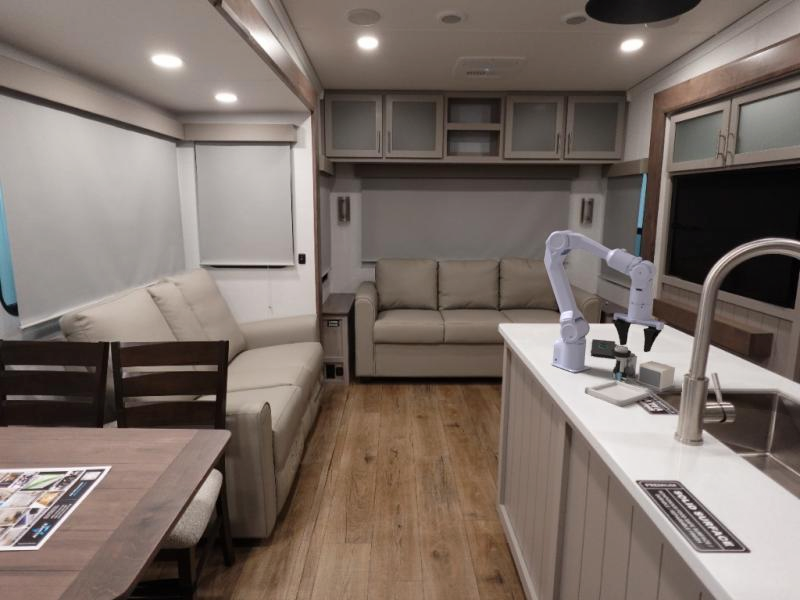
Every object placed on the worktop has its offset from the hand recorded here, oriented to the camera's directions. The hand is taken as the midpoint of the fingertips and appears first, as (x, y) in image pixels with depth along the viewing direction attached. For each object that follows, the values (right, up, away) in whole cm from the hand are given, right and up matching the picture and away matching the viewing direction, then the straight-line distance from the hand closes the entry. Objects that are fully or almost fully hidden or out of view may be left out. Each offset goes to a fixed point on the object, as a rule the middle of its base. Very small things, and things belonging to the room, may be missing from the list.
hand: (634, 348), depth 145 cm
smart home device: (+4, -5, +33) cm, 34 cm away
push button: (-4, -10, +2) cm, 11 cm away
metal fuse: (+1, -9, +7) cm, 11 cm away
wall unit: (+5, -11, -2) cm, 12 cm away
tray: (-9, -12, -10) cm, 18 cm away
